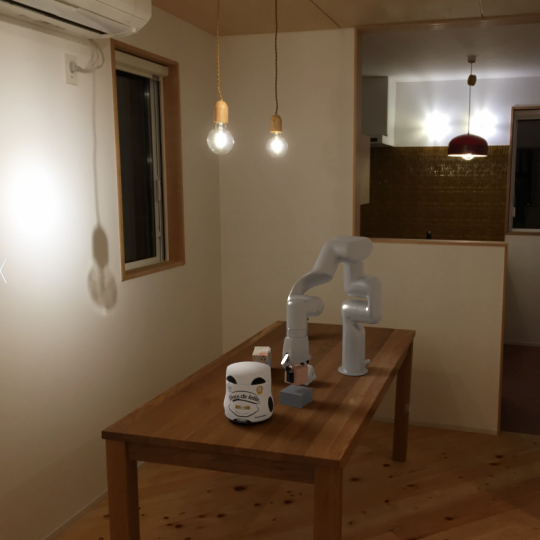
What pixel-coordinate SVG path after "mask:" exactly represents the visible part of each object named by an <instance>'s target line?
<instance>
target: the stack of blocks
mask: <svg viewBox="0 0 540 540" xmlns="http://www.w3.org/2000/svg"><path fill="white" fill-rule="evenodd" d="M271 351H272V349H271V347H270V346H254V350H253V352H252V356H251V358H252V359H251V360H252V361H251V362H260V363H264V364H267V365H268V366H270V370H272V352H271Z"/></svg>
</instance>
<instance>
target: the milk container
mask: <svg viewBox="0 0 540 540" xmlns="http://www.w3.org/2000/svg"><path fill="white" fill-rule="evenodd" d="M271 370H272V369H271ZM271 370H270V366H268V365H267V364H264V363H260V362H252V361H240V362H234V363H231V364H229V365H227V367H226V370H225V371H226V372H225V374H226V375H225V395H224V399H223V411H224V415H225V416H226V418H227V419H228V420H230V421H232V422H234V423H238V424H247V425H248V424H249V425H250V424H258V423H262V422H265V421H266V420H268V419H270V418H271V417H272V415H273V412H274V406H275V404H274V402H275V401H274V397H273V393H272V371H271Z"/></svg>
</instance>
